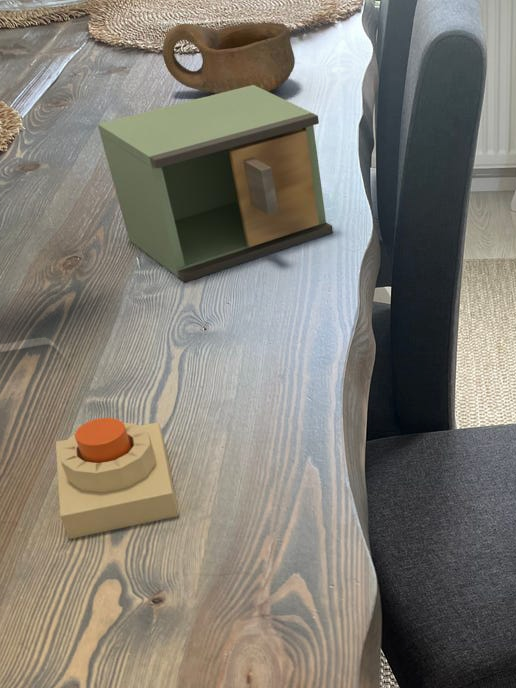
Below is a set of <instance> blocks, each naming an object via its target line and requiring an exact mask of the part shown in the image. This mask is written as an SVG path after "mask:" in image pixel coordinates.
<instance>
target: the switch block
mask: <svg viewBox="0 0 516 688" xmlns="http://www.w3.org/2000/svg"><path fill="white" fill-rule="evenodd" d="M122 423H123V424H124V425H125V428H126V431H127V434H128V438H129V441H130V444H131V449H130V451H129V452H128V453H127V454H126V455H124V456H122V457H120V458H118V459H116V460H113V461H108V462H103V463H92V462H87V461H85V460H84V459H83V457H82V455H81V452H80V450H79V447H78V444H77V441H76V439H75V433H74V434H73V435H71V436H70V437H68V439H63V440H57V441H56V442H55V454H56V455H55V456H56V471H57V489H58V502H59V504H58V505H59V517H60V520H61V521H62V524H63V527H64V530H65V532H66V533H67V537H68V538H69V540H71V539H76V538H80V537H86V536H90V535H96V534H100V533H105V532H110V531H114V530H119V529H123V528H128V527H133V526H138V525H142V524H147V523H152V522H157V521H161V520H165V519H170V518H175V517H179V516H180V512H179V508H178V503H177V497H176V492H175V491H176V490H175V485H174V484H173V483H174V482H173V478H172V472H171V471H172V470H171V467H170V460H169V456H168V451H167V446H166V443H165V439H164V436H163V435H164V434H163V432H162V429H161V425H160V422H158V421H157V422H153V423H147V424H142V425H138V424H136V423H131V422H122Z"/></svg>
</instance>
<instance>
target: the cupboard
mask: <svg viewBox="0 0 516 688" xmlns="http://www.w3.org/2000/svg"><path fill="white" fill-rule="evenodd" d="M319 120H320V119H319V115H317V114H315V113H313V112H311V111H310V110H308V109H305V108H303V107H301V106H299V105H298V104H297V105H296V104H295V103H292V102H290V101H288V100H287V99H284V98H282V97H280V96H277V95H275V94H274V93H272V92H267V91H265V90H263V89H261V88H259V87H257V86H255V85H251V86H247V87H243V88H239V89H235V90H231V91H227V92H223V93H219V94H215V93H214V94H211V95H207V96H203V97H199V98H195V99H192V100H187V101H184V102H180V103H175V104H171V105H168V106H164V107H160V108H155V109H151V110H147V111H143V112H139V113H136V114H131V115H128V116H123V117H120V118H114V119H112V120H107V121H103V122H99V123H97V127H98V131H99V134H100V138H101V141H102V146H103V149H104V153H105V157H106V160H107V164H108V167H109V171H110V175H111V179H112V182H113V186H114V190H115V193H116V198H117V200H118V204H119V207H120V211H121V216H122V219H123V223H124V226H125V231H126V233H127V237H128V241H129V242H131V243H132V244H134V246H136V247H137V248H138V249H140V250H141V251H142V252H144V253H145V254H146V255H148V256H149V257H150V258H152V259H153V260H154V261H156V262H157V263H158V264H159V265H161V266H162V267H163V268H165V269H166V270H167V271H169V272H170V273H171V274H173V275H174V276H176V277H177V278H178V279H179V280H180V281H182V282H183V283H187V282H190V281H193V280H197V279H199V278H202V277H205V276H208V275H211V274H214V273H217V272H219V271H222V270H225V269H228V268H229V269H230V268H232V267H234V266H238V265H240V264H244V263H247V262H249V261H253V260H256V259H258V258H262V257H265V256H268V255H271V254H273V253H277V252H280V251H283V250H285V249H288V248H292V247H294V246H298V245H300V244H304V243H307V242H309V241H313V240H316V239H318V238H322V237H324V236H327V235H331V234H333V233H334V229H333V225H332V224H330V223H328V222H327V221H326V220H327V219H326V210H325V203H324V202H325V201H324V196H323V188H322V180H321V172H320V164H319V159H318V158H319V157H318V150H317V141H316V135H315V128H314V126H316V125H319V124H320V121H319ZM299 130H305V131H306V134H307V141H308V148H309V156H310V163H311V170H312V178H313V185H314V192H315V200H316V207H317V214H318V222H319V225H316V226H313V227H310V228H307V229H304V230H301V231H298V232H295V233H292V234H289V235H286V236H282V237H279V238H276V239H273V240H270V241H267V242H264V243H261V244H258V245H255V246H252V247H248V246H247V244H246V239H245V233H244V228H243V223H242V218H241V212H240V207H239V202H238V197H237V191H236V186H235V181H234V176H233V170H232V165H231V160H230V155H229V150H231V149H235V148H238V147H242V146H245V145H249V144H253V143H256V142H260V141H263V140H267V139H271V138H274V137H278V136H281V135H285V134H289V133H292V132H296V131H299Z"/></svg>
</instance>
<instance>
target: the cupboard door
mask: <svg viewBox="0 0 516 688" xmlns="http://www.w3.org/2000/svg"><path fill="white" fill-rule="evenodd" d="M229 155H230V160H231V165H232V170H233V176H234V181H235V186H236V191H237V197H238V202H239V207H240V212H241V218H242V223H243V228H244V233H245V239H246V244H247V246H248V247H252V246H255V245H258V244H261V243H264V242H267V241H270V240H273V239H276V238H279V237H282V236H286V235H289V234H292V233H295V232H298V231H301V230H304V229H307V228H310V227H313V226H316V225H319V222H318V214H317V207H316V200H315V192H314V185H313V178H312V170H311V163H310V156H309V148H308V141H307V134H306V131H305V130H299V131H296V132H292V133H289V134H285V135H281V136H278V137H274V138H271V139H267V140H263V141H260V142H256V143H253V144H249V145H245V146H242V147H238V148H235V149H231V150H229Z"/></svg>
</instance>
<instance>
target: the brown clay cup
mask: <svg viewBox="0 0 516 688" xmlns="http://www.w3.org/2000/svg"><path fill="white" fill-rule="evenodd" d="M181 41H187V42H189V43H191V44H192V45H193V46H195V47H196V48H197V50H198V51H199V54H200V55H201V59H202V63H201V67H200V68H198V69H197V70H190V69H188V68H186V67H185V66H183V65H182V64H181V63H180V62H179V61H178V59H177V57H176V55H175V47H176V45H177V43H178V42H181ZM162 58H163V61H164V62H163V63H164V65H165V66H166V68H167V71H168V73H169V74H170V75H171V76H172V77H173V78H174V79H175V80H176V82H178V83H180V84H181V85H182V86H185V87H187V88H190V89H193V90H198V91H202V92H206V93H211V94H214V95H215V94H219V93H223V92H227V91H231V90H235V89H239V88H243V87H247V86H251V85H255V86H257V87H259V88H261V89H263V90H265V91H267V92H269V93H271V92H272V91H275V90H276V89H277V88H279V87H281V86H282V85H284V84H285V82H287V80H288V79H289V78H290V76H291V74H292V72H293V70H294V68H295V63H296V58H295V54H294V50H293V47H292V42H291V31H290V28H289V27H287V26H286V25H285V24H284V23H279V22H258V23H256V22H255V23H254V22H243V23H240V24H236V25H235V24H232V25H229V26H224V27H222V28H219V29H214V28H212V27H205V26H200V25H196V24H191V23H181V24H177V25H175V26H173V27H172V28H170V29H169V31H168V32H167V34H166V35H165V38H164V40H163V43H162Z"/></svg>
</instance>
